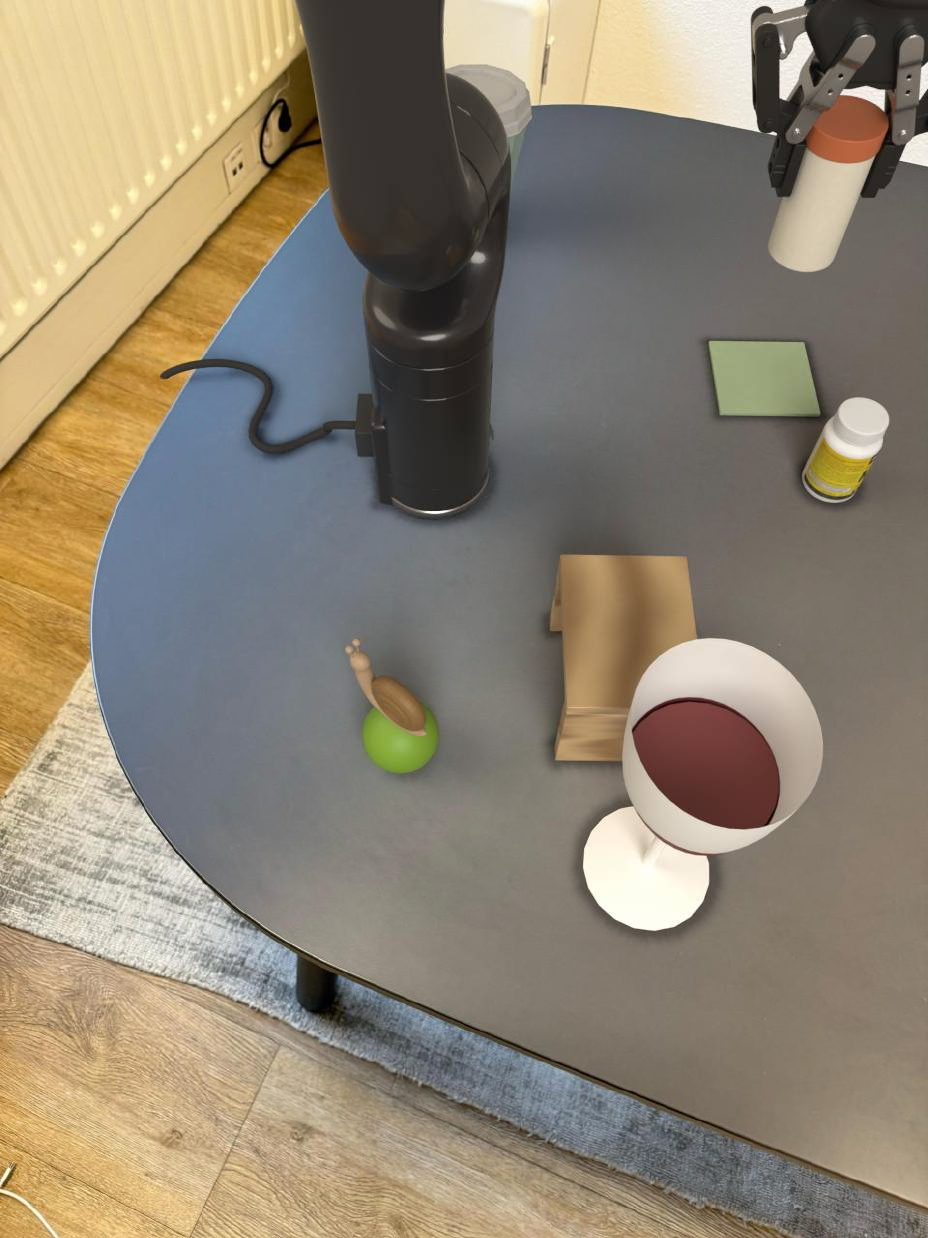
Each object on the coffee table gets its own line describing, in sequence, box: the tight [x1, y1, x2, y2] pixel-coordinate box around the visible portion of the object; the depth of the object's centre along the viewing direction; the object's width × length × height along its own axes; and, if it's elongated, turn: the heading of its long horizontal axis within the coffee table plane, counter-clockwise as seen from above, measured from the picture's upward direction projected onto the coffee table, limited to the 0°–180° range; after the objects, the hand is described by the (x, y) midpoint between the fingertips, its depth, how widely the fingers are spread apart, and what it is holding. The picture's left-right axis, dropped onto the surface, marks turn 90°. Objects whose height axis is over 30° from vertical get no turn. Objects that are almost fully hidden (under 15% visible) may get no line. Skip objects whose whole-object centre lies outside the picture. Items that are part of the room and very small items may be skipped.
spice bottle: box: [767, 94, 889, 273], centre depth 60 cm, size 5×5×9 cm
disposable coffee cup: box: [445, 63, 533, 192], centre depth 94 cm, size 11×11×15 cm
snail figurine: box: [344, 637, 440, 774], centre depth 66 cm, size 5×6×12 cm
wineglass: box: [582, 637, 824, 932], centre depth 57 cm, size 9×10×23 cm
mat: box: [707, 340, 821, 418], centre depth 89 cm, size 9×9×1 cm
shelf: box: [549, 554, 698, 762], centre depth 69 cm, size 9×12×9 cm
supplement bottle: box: [801, 396, 890, 504], centre depth 80 cm, size 5×5×8 cm
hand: (822, 188), depth 60 cm, fingers closed on spice bottle, 4 cm apart
